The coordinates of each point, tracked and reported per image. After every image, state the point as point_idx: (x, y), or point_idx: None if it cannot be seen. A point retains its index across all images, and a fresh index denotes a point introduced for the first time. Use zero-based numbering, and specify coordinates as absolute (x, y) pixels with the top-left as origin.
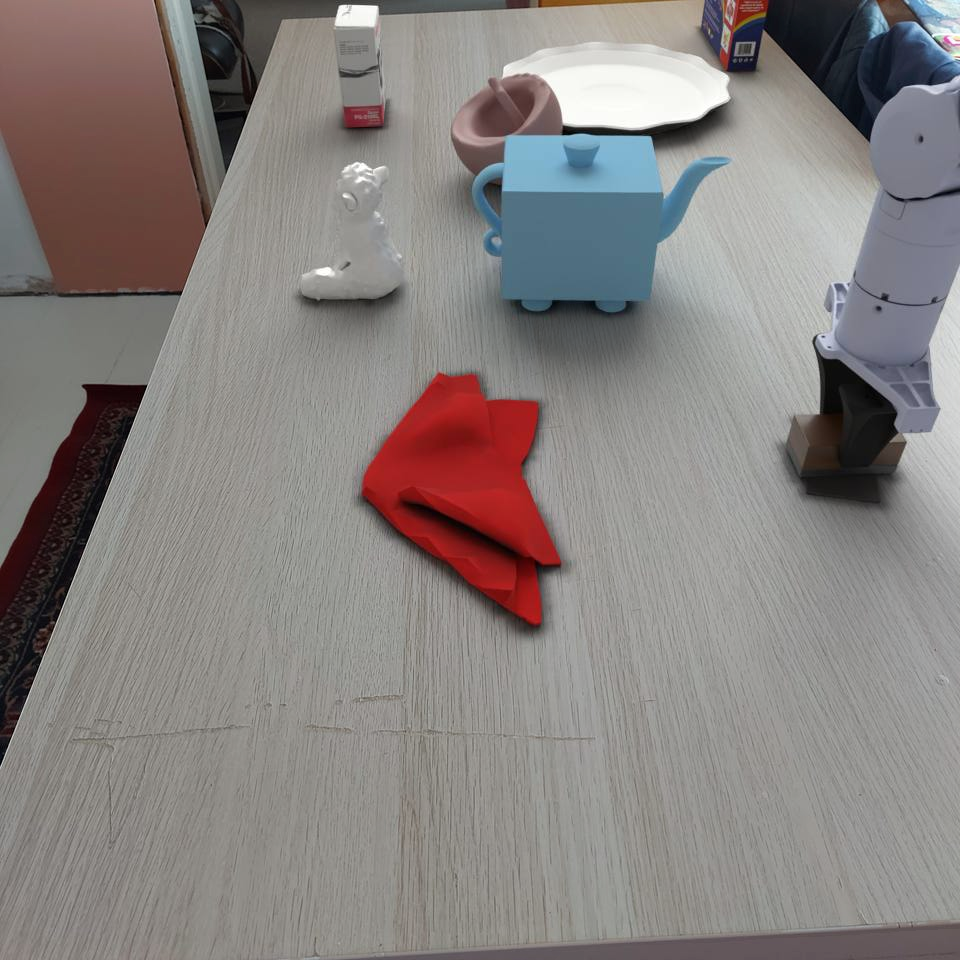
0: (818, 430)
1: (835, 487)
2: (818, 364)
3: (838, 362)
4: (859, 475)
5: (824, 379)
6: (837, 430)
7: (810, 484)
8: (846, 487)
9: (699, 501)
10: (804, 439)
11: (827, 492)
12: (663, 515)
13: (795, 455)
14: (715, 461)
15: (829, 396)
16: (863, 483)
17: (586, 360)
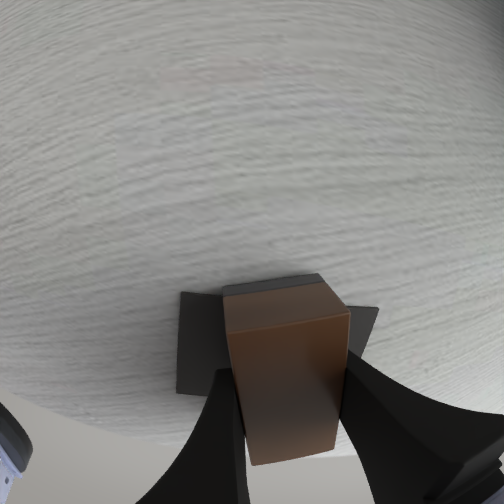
0: (290, 358)
1: (199, 342)
2: (448, 406)
3: (415, 476)
4: None
5: (400, 418)
6: (286, 391)
7: (203, 303)
8: (202, 358)
9: (143, 74)
10: (259, 325)
11: (185, 328)
12: (110, 16)
13: (269, 289)
14: (273, 117)
15: (369, 400)
16: None
17: (486, 8)
